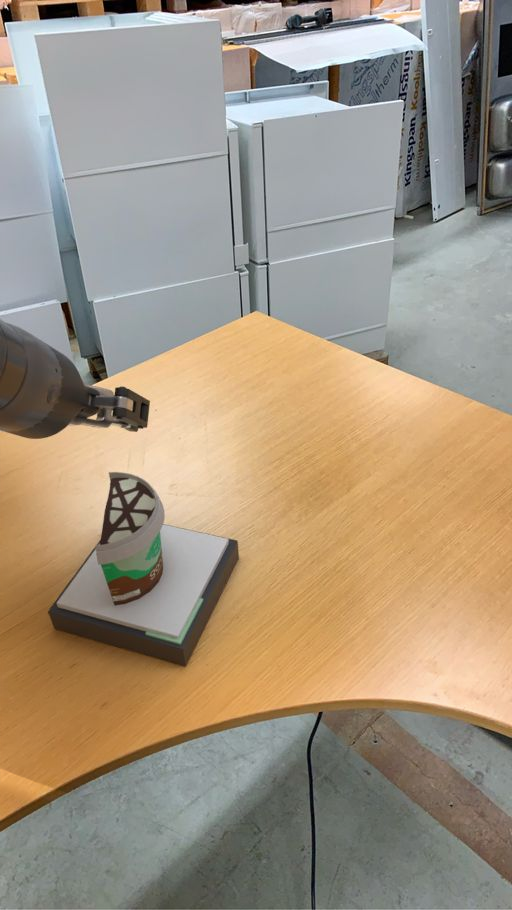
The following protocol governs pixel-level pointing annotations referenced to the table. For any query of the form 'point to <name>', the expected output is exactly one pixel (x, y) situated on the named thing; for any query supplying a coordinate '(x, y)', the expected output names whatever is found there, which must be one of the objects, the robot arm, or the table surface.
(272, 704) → the table surface
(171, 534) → the scale
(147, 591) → the food container
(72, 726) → the table surface
